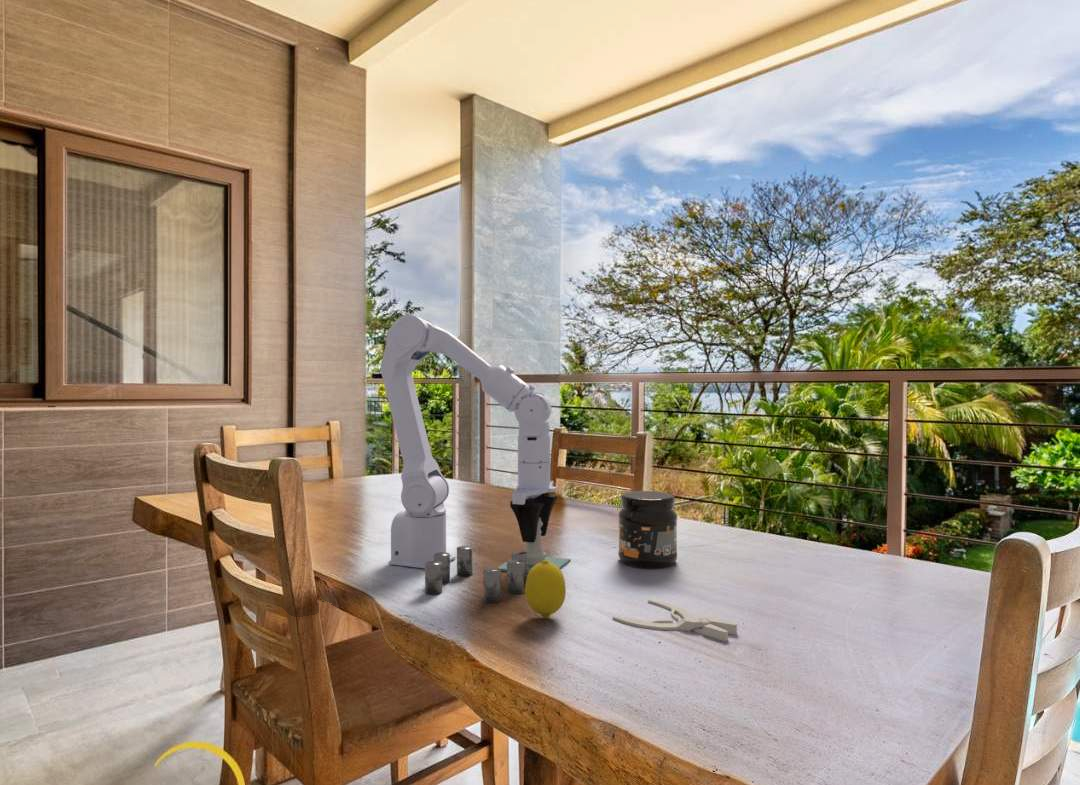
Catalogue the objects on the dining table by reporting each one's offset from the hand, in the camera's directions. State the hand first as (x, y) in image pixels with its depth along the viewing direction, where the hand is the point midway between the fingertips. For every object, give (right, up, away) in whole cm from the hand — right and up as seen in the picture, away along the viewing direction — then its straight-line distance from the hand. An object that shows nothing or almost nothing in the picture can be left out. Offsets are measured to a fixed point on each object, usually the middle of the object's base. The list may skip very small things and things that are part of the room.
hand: (534, 538), depth 113 cm
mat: (0, -5, 0) cm, 5 cm away
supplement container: (+20, -5, +3) cm, 21 cm away
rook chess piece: (0, -5, 0) cm, 5 cm away
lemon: (+2, -5, -25) cm, 26 cm away
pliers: (+20, -6, -27) cm, 34 cm away
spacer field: (-9, -5, -12) cm, 15 cm away
